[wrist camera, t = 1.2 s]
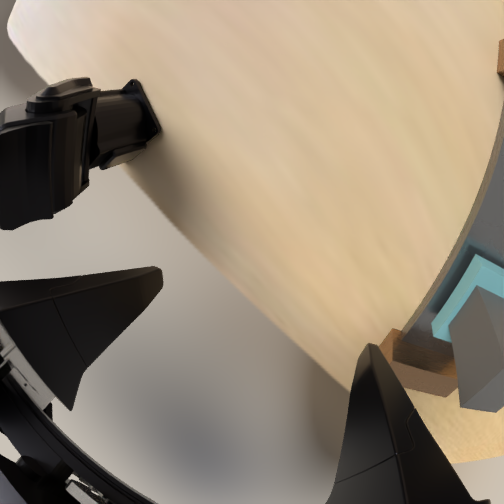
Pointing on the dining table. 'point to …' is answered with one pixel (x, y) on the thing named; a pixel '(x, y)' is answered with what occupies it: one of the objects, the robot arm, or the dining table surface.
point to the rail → (452, 284)
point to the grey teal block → (476, 334)
